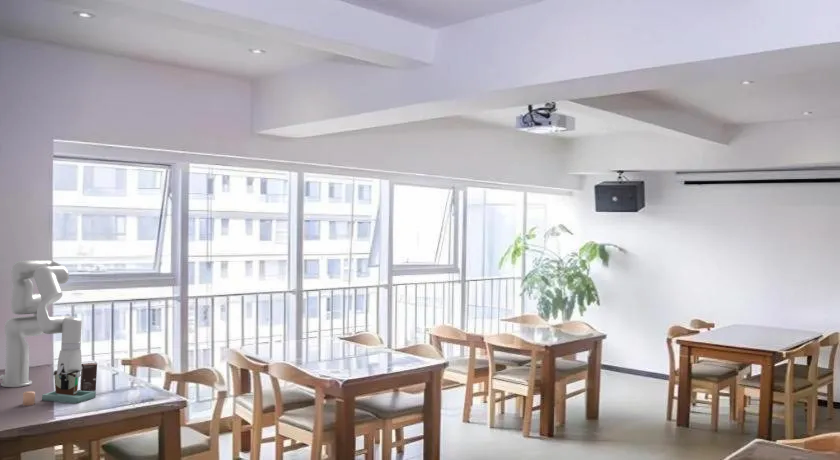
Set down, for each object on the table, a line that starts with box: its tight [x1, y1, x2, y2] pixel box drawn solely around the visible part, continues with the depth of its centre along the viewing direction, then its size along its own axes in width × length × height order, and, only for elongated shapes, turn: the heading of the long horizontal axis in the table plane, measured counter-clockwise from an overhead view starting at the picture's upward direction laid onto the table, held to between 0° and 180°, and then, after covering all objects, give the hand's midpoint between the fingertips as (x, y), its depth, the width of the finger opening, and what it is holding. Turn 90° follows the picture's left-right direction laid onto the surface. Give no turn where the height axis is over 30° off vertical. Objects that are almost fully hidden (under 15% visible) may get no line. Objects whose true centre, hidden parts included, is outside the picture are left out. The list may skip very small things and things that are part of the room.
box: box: [79, 362, 98, 391], centre depth 316 cm, size 6×4×12 cm
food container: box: [53, 369, 81, 396], centre depth 299 cm, size 12×6×10 cm, turn 75°
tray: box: [41, 389, 97, 404], centre depth 298 cm, size 17×11×2 cm, turn 80°
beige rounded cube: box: [22, 390, 36, 407], centre depth 287 cm, size 4×4×5 cm
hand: (69, 387), depth 298 cm, fingers closed on food container, 5 cm apart
